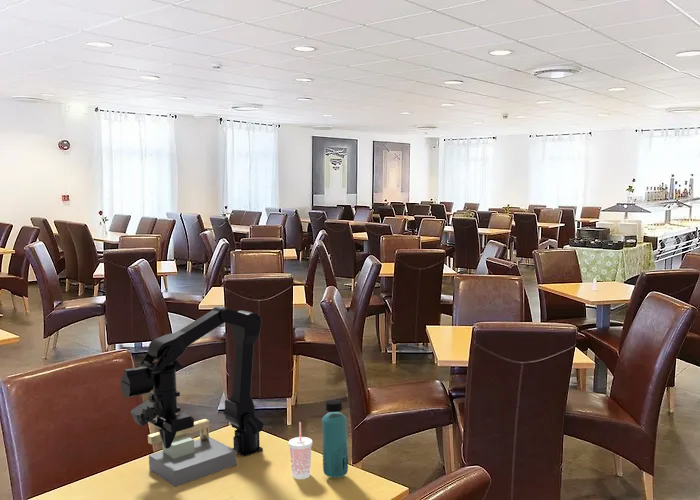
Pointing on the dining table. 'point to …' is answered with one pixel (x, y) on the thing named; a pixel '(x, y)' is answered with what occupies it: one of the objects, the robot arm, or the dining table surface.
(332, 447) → the beverage bottle
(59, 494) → the dining table surface
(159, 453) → the box
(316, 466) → the dining table surface
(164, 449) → the rectangular block
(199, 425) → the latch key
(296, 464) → the beverage cup
